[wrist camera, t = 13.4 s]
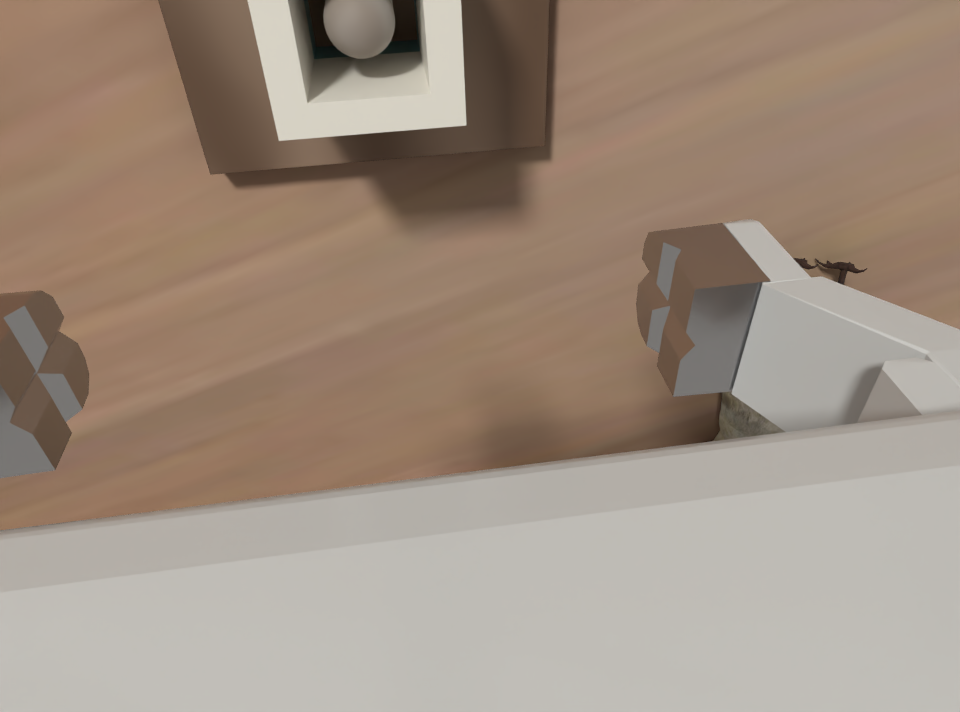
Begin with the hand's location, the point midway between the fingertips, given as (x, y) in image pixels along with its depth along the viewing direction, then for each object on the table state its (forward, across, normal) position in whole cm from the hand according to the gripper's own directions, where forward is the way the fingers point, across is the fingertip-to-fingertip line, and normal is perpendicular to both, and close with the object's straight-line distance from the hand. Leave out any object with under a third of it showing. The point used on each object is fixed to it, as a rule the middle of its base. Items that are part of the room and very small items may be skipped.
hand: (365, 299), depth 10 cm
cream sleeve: (+20, 0, 0) cm, 20 cm away
